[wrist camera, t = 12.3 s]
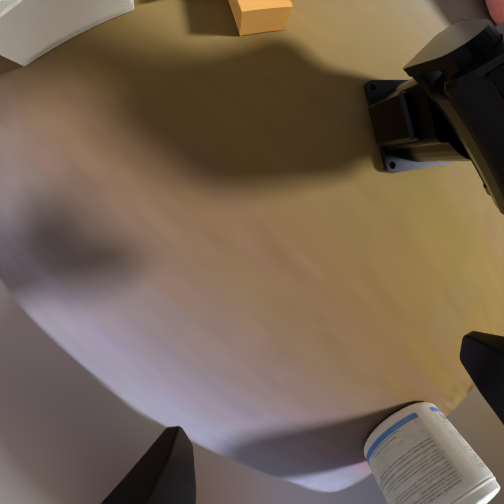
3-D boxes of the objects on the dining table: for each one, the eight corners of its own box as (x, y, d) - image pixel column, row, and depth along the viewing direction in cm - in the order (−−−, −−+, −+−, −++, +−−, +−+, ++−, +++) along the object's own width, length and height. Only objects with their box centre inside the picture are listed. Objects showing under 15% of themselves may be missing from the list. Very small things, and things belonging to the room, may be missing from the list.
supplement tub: (353, 464, 25) (393, 560, 11) (371, 412, 23) (437, 528, 8) (421, 441, 26) (470, 518, 11) (446, 387, 23) (519, 471, 9)
